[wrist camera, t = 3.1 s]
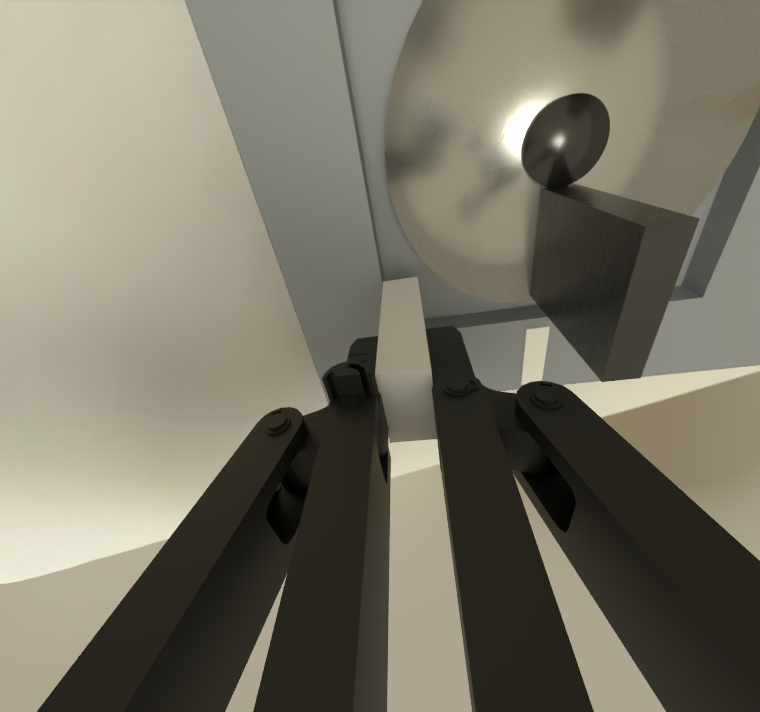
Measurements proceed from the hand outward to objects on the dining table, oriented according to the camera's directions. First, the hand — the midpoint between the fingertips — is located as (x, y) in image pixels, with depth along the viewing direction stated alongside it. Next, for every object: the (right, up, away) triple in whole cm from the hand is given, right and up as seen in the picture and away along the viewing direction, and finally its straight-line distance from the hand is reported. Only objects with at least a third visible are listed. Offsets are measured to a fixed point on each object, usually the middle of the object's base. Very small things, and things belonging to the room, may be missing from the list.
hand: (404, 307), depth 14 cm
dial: (+6, +7, -1) cm, 9 cm away
